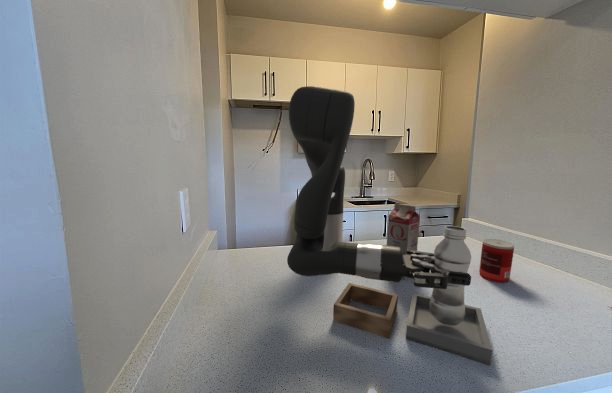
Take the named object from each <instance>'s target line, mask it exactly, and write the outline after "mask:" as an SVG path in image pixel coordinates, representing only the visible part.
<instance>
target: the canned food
mask: <svg viewBox="0 0 612 393" xmlns="http://www.w3.org/2000/svg"><path fill="white" fill-rule="evenodd" d="M514 249H515V245H514V243H512V242H510V241H506V240H504V239H503V240H502V239H497V238H486V239H482V244H481V254H480V263H479V275H480V276H481V277H482V278H483V279H485V280H488V281H490V282H494V283H507V282H508V281H509V280H510V278H511V272H512V266H513V259H514V253H515V250H514Z"/></svg>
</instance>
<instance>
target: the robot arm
mask: <svg viewBox="0 0 612 393" xmlns="http://www.w3.org/2000/svg"><path fill="white" fill-rule="evenodd" d="M354 114H355V97H354V94H352V92H350V91H347V90H342V89H333V88H328V87H327V88H326V87H321V86H320V87H319V86H314V85H313V86H312V85H311V86H309V85H307V86H301V87H299V88H297V89H296V90H295V91H294V92H293V94H292V96H291V97H290V101H289V106H288V119H289V120H288V122H289V126H290V130H291V132H292V134H293V137H294V138H295V140H296V141H297V143H298V144H299V146H300V148H301V149H302V151H303V154H304V156H305V161H306V163H307V165H308V168H309V171H310V174H311V178H309V179H308V180H307V182H306V183H305V184H304V185H303V186H302V187H301V189H300V191H299V193H298V195H297V198H296V203H295V208H294V209H295V210H294V218H293V219H294V220H293V222H294V223H293V224H294V225H293V226H294V231H295V233H296V237H295V241H294V243H293V245H292V247H291V249H290V250H289V253H288V254H287V258H286V261H287V266H288V268H289V269H290V270H291V271H292V272H293V273H295V274H297V275H300V276H302V277H303V276H304V277H317V276H327V275H332V274H341V275H342V274H343V275H349V276H356V277H361V278H363V279H364V278H365V279H370V280H377V281H383V282H391V283H397V284H398V283H400V282H401V281H402V279H401V278H402V277H403V276H405V277H408V278H407V279H412V281H413V283H412V284H413V286H414V287H416V288H426V289H427V288H428V289H433V288H438V289H447V285H448V283H451V284H459V285H465V287H466V286H467V287H468V286H470V285H471V282H472V276H471V274H470V273H468V272H467V273H462V272H454V271H449V272H448V271H446V270H442V269H438V268H437V267H436V266H435V259H434V252H428V251H426V252H425V251H420V250H417V251H414V250H407V253H406V255H403V252H402V248H401V247H397V246H387V244H377V243H357V242H356V243H355V242H346V241H343V228H344V226H343V225H344V195H345V186H346V170H345V168H344V166H343V165H342V163H343V161H344V156H345V153H346V149H347V145H348V142H349V138H350V135H351V131H352V126H353V122H354V116H355V115H354ZM333 193H334V195H333ZM332 195H333V196H332ZM438 273H440V274H438ZM434 282H437V283H434Z"/></svg>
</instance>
